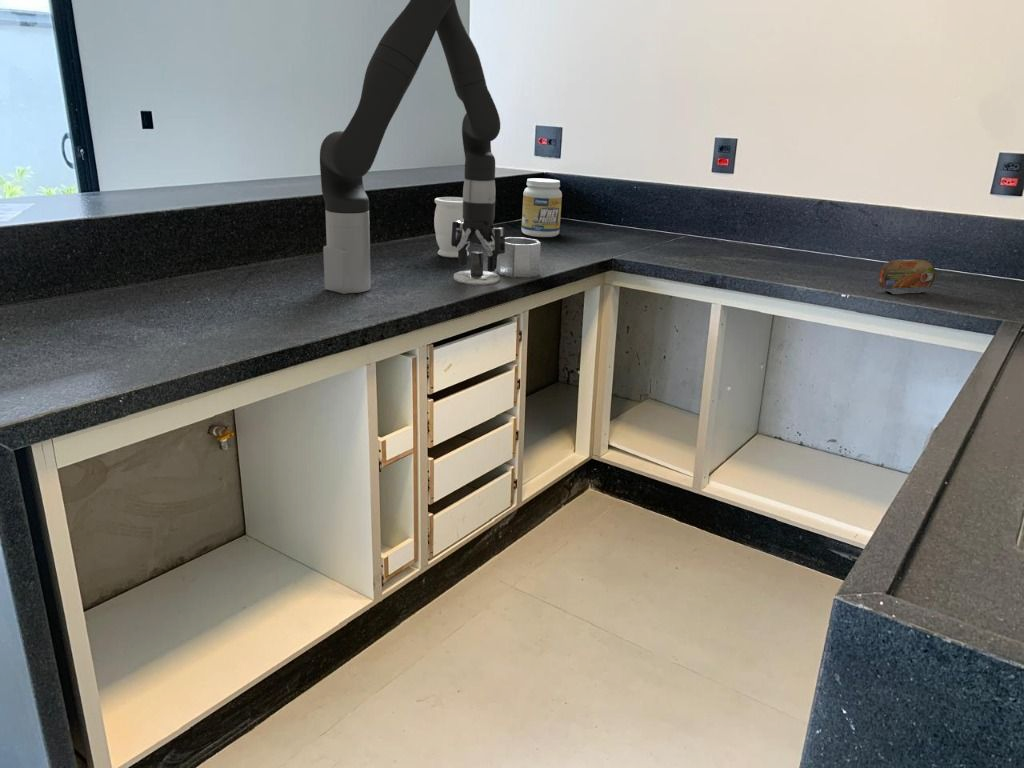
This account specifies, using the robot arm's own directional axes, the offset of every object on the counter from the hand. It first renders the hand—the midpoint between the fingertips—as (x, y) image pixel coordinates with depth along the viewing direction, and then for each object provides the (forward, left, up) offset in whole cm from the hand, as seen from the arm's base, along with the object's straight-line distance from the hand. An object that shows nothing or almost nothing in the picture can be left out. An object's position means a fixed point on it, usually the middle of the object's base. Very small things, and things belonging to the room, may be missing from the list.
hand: (477, 268), depth 189 cm
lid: (0, 0, -3) cm, 3 cm away
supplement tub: (+64, +24, -3) cm, 68 cm away
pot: (+13, -3, -3) cm, 14 cm away
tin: (+67, -83, -3) cm, 107 cm away
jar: (+18, +22, -3) cm, 29 cm away
